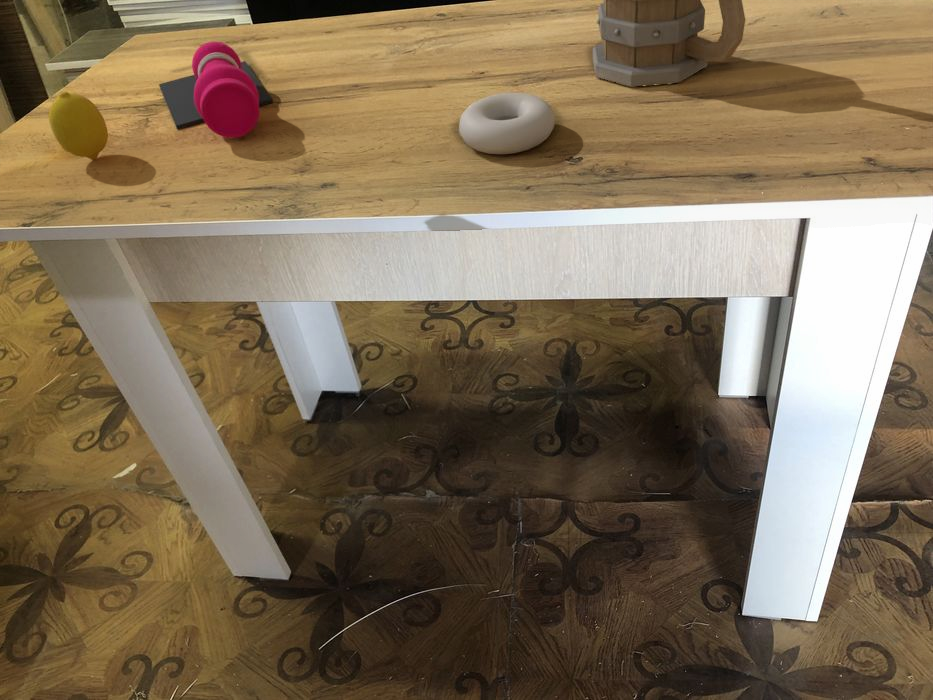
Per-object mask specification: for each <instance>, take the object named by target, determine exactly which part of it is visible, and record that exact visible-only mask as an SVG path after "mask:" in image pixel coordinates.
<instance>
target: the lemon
mask: <svg viewBox="0 0 933 700" xmlns="http://www.w3.org/2000/svg"><path fill="white" fill-rule="evenodd" d="M48 121H49V125H50V128H51V131H52V134H53V136H54V137H55V140H56V142H58V144H59V145H60V146H61V147H62V148H63V149H64V150H65V151H66V152H67V153H70V154H71V155H73V156H76V157H81V158H87V159H89V160H92V161H93V160H96V159H97V158H98V156H99V153H100V152H102V151H103V150H104V149H105V147H106V145H107V143H108V139H109V132H108V128H107V122H106V120H105V118H104V116H103V114H102V113H101V111H100V110H99V108H98V107H97V105H95V103H93V102H92V101H91V100H90V99H89V98H87V97H86V96H84V95H82V94H78V93H72V92H70V93H69V92H67V91H62V92H60V93H59V95H58V96H57V97H56V98H55V99H54V100H53V101H52V103H51V104H50V107H49V110H48Z"/></svg>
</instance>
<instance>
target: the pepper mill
mask: <svg viewBox="0 0 933 700" xmlns="http://www.w3.org/2000/svg"><path fill="white" fill-rule="evenodd" d="M241 62H242V61H241V59H240V57H239V55H238V54H237V52H236V51H235V49H233V48H232V47H231V46H230V45H228V44H226V43H223V42H221V41H208V42H206V43H203V44H201V45H200V46H199V47H198V48H197V49H196V51H195V52H194V54H193V56H192V60H191V68H192V73H193V75H195V77H196V79H197V81H196V83H195V87H194V102H195V106H196V108H197V110H198V112H199V114H200V115H201V116H202V118H203V120H204V121H205V122H204V123H205V125H206V126H207V127H208V129H210V130H211V132H213V133H215V134H217V135H218V136H221V137H224V138H229V139H230V138H233V139H235V138H238V137H239V138H240V137H243V136H246V135H247V134H248V133H251V131H252V130H253V129H254V128H255V127H256V125H257V124H258V121H259V118H260V106H259V94H258V90H257V88H256V85H255V84H254V82H253V81H252V79H251V78H250V77H249V75H248V74H247V73H245V72H244V71H243V70H242V66H241Z"/></svg>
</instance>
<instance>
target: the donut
mask: <svg viewBox="0 0 933 700" xmlns="http://www.w3.org/2000/svg"><path fill="white" fill-rule="evenodd" d="M555 123H556V120H555V112H554V109H553V108H552V106H551V105H550V104H549V103H548V102H547V101H546V100H545V99H544V98H542V97H539V96H537V95H535V94H530V93H525V92H502V93H497V94H491V95H488V96H485V97H483V98H481V99H478V100H476V101H474V102H473V103H471V104H469V106H467V107H466V109H465V110H464V111H463V113H462V114H461V116H460V118H459V125H458V132H459V135H460V136H461V138H462V140H463V141H464V143H465V144H466V145H467V146H468V147H470V148H472V149H474V150H475V151H476V152H481V153H485V154H488V155H510V154H512V155H513V154H517V153H522V152H525V151H529V150H531V149H533V148H535V147H538V146H539V145H541V144H542V143H543V142H544V141H546V140H547V139H548V138H549V136H550V135H551V133H552V132H553V129H554V128H555Z"/></svg>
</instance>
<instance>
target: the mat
mask: <svg viewBox="0 0 933 700" xmlns="http://www.w3.org/2000/svg"><path fill="white" fill-rule="evenodd" d="M241 66H242V70H243V71H244V72H245V73H247V74H248V75H249V77H250V78H251V79H252V81H253V82H254V84H255V85H256V88H257V90H258V94H259V107H262V106H265V105H270V104H273V103H274V99H273V98H272V96H271V94H270V93H269V92H268V90H267V89H266V88H265V87H264V85H263V84H262V82H261V81H260V80H259V78H258V76H256V74H255V73H254V71H253V70H252V68H251V67H250V65H249V64H248V62H247V61H246V60H244V61H241ZM196 81H197V79H196V77H195V75H194V74H192V75H187V76H183V77H180V78H177V79H173V80H169V81H166V82H161V83H158V86H159V88H160V91H161V94H162V96H163V98H164V102H165V103H166V106H167V108H168V111H169V113H170V116H171V118H172V120H173V123H174V126H175V127H176V130H181V129H184V128H187V127H192V126H195V125H198V124H202V123H205V121H204V120H203V118H202V116H201V115H200V114H199V112H198V110H197V108H196V106H195V102H194V87H195V83H196Z"/></svg>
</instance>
